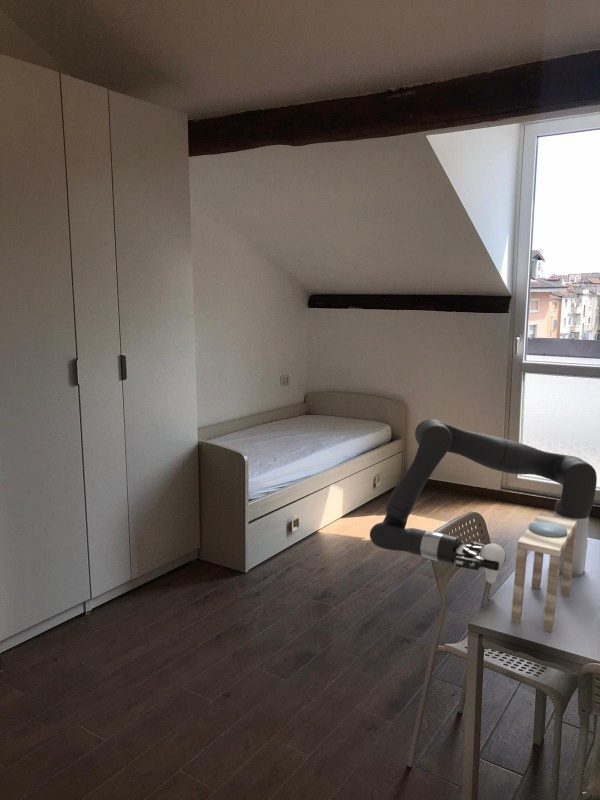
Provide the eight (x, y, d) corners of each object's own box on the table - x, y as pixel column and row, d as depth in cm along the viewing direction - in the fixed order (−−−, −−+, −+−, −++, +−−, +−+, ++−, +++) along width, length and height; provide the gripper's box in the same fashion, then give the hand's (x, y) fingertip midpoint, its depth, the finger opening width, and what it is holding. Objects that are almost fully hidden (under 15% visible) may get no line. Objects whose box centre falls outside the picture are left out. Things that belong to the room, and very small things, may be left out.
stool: (533, 584, 178) (539, 511, 175) (569, 593, 173) (577, 518, 170) (510, 621, 158) (517, 539, 155) (551, 632, 153) (559, 548, 150)
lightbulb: (474, 583, 172) (477, 544, 170) (485, 575, 176) (488, 537, 174) (496, 590, 168) (499, 551, 166) (506, 583, 172) (510, 544, 170)
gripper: (432, 542, 172) (495, 558, 163) (450, 526, 184) (510, 540, 175) (430, 569, 173) (493, 586, 164) (448, 551, 185) (508, 566, 176)
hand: (501, 562), depth 170 cm, fingers closed on lightbulb, 5 cm apart
